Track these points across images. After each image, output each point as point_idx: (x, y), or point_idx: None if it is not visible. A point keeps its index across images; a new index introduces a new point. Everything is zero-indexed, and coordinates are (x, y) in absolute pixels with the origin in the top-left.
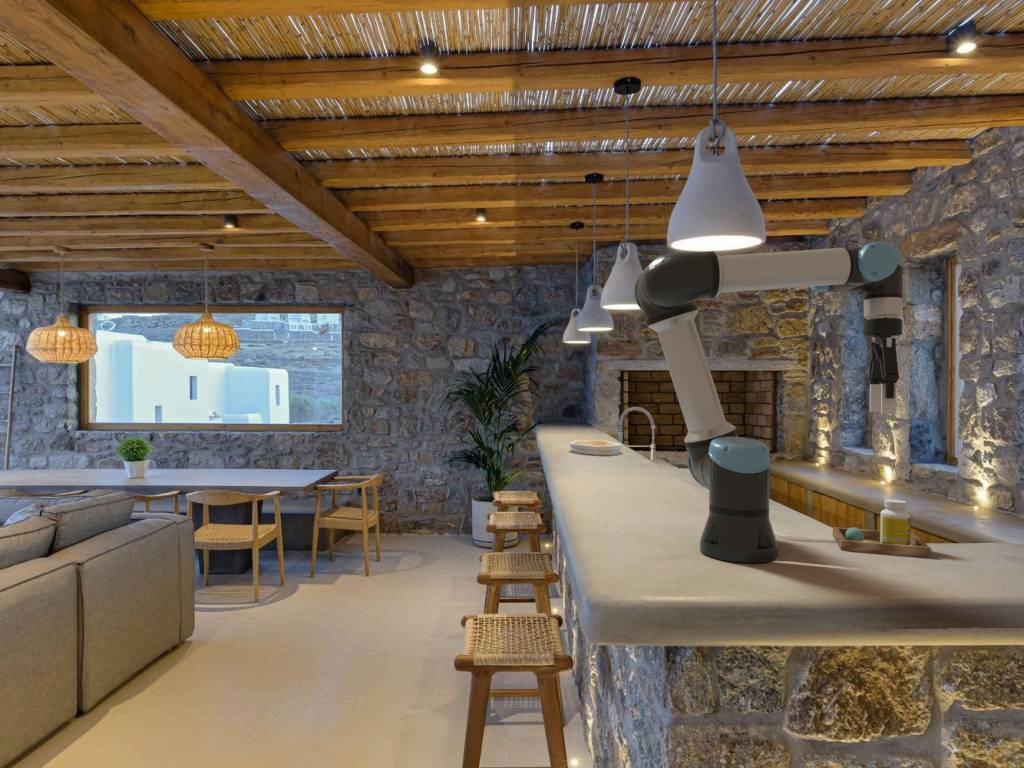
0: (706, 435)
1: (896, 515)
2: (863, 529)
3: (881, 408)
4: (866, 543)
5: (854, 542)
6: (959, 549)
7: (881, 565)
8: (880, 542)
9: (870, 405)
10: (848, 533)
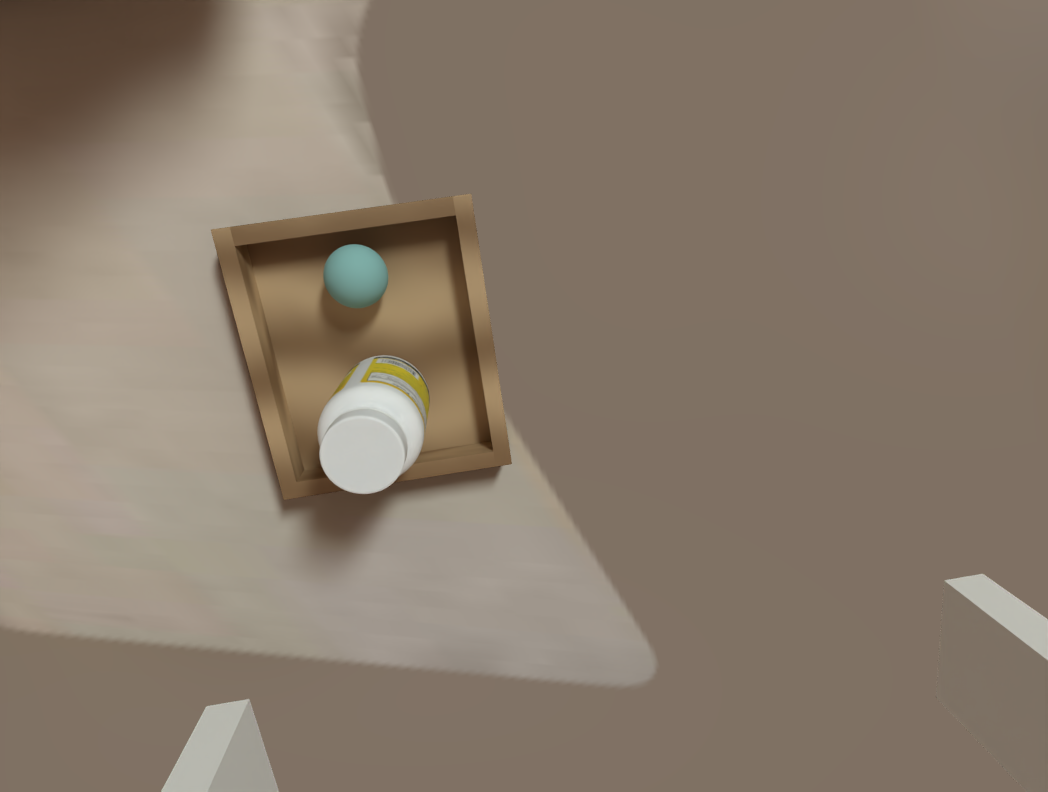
0: None
1: (319, 440)
2: (486, 307)
3: (204, 757)
4: (235, 315)
5: (223, 275)
6: (513, 561)
7: (127, 350)
8: (373, 357)
9: (1014, 633)
10: (331, 255)
